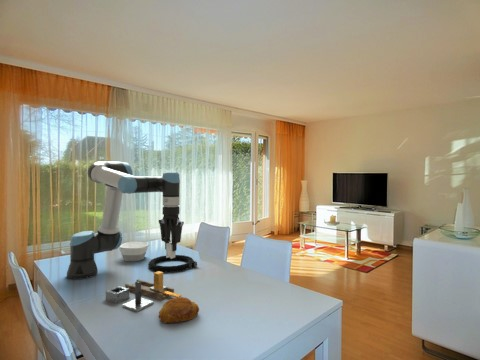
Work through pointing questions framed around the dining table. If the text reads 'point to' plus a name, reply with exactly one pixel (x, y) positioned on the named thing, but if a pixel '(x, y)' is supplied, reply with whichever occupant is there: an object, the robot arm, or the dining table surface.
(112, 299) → the square hollow frame
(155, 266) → the cable lock
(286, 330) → the dining table surface
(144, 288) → the rail
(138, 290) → the square plate with peg
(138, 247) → the bowl
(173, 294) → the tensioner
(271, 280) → the dining table surface
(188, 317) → the croissant
